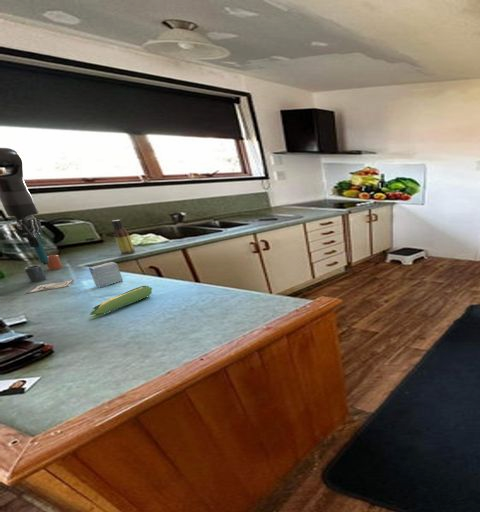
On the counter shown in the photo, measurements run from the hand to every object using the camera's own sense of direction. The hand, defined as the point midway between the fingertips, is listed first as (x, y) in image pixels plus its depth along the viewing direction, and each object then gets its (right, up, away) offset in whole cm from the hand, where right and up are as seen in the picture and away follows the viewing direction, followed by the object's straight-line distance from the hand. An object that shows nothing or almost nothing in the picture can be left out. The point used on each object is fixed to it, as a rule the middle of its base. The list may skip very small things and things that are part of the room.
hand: (37, 245), depth 110 cm
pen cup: (-25, -11, +27) cm, 38 cm away
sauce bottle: (-12, -3, +52) cm, 53 cm away
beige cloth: (-2, -18, +6) cm, 19 cm away
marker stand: (-15, -16, +13) cm, 25 cm away
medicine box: (+20, -17, +9) cm, 28 cm away
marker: (0, -8, +3) cm, 8 cm away
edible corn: (+45, -23, -10) cm, 52 cm away
